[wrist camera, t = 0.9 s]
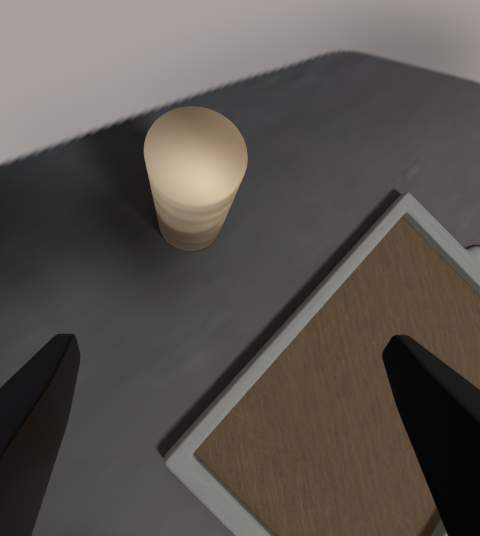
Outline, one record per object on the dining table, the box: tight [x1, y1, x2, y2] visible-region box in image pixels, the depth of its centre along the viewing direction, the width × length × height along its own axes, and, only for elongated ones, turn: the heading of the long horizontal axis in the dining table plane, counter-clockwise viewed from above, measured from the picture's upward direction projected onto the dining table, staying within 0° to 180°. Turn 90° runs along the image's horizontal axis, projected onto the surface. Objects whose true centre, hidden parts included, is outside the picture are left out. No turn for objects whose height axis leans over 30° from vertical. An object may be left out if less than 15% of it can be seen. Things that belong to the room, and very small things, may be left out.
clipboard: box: [164, 192, 480, 536], centre depth 25 cm, size 19×2×30 cm
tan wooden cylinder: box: [144, 106, 248, 252], centre depth 19 cm, size 5×5×10 cm
